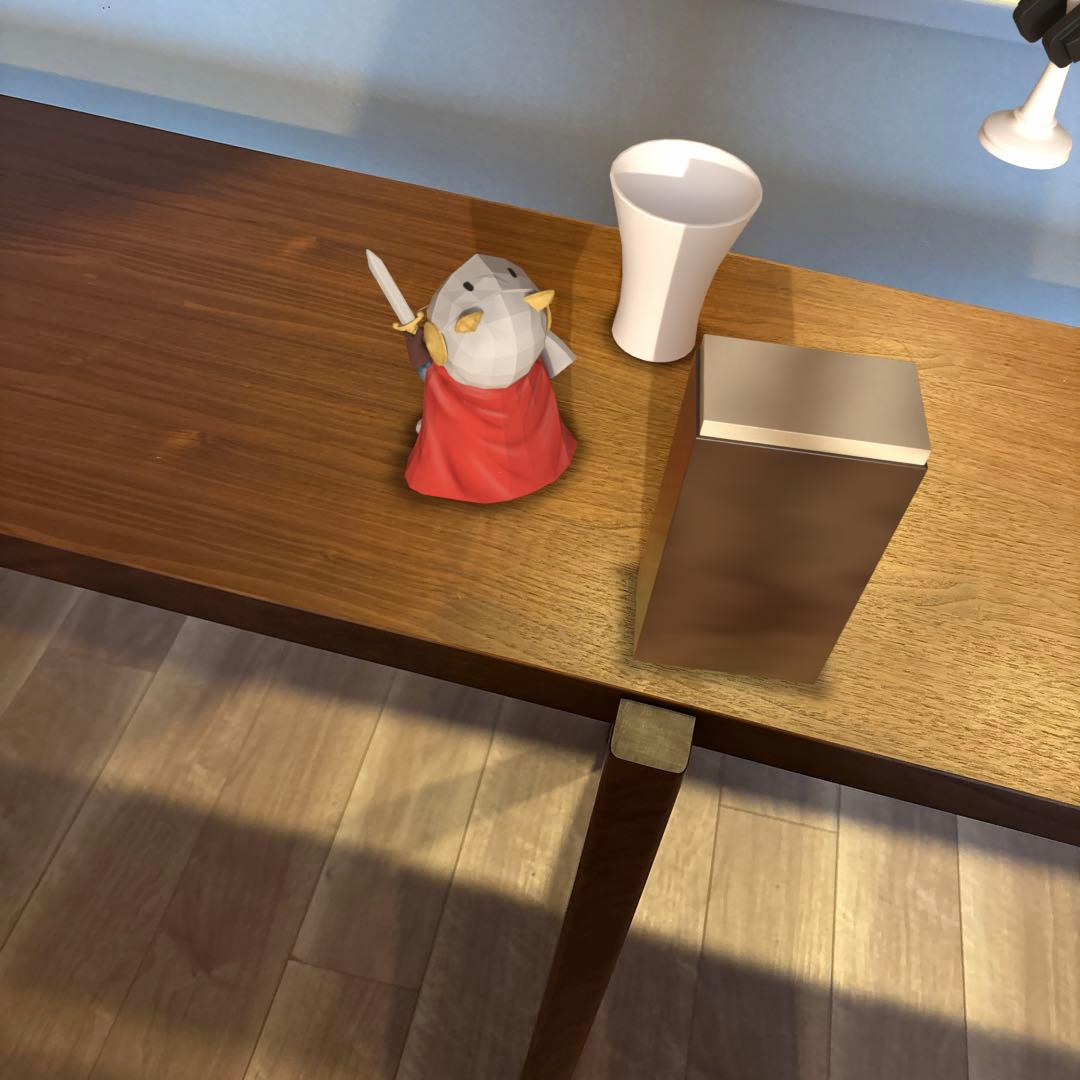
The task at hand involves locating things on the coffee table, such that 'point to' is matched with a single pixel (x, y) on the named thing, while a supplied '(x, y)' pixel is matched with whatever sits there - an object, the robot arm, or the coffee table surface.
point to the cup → (674, 238)
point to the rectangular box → (776, 505)
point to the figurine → (484, 383)
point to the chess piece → (1031, 124)
